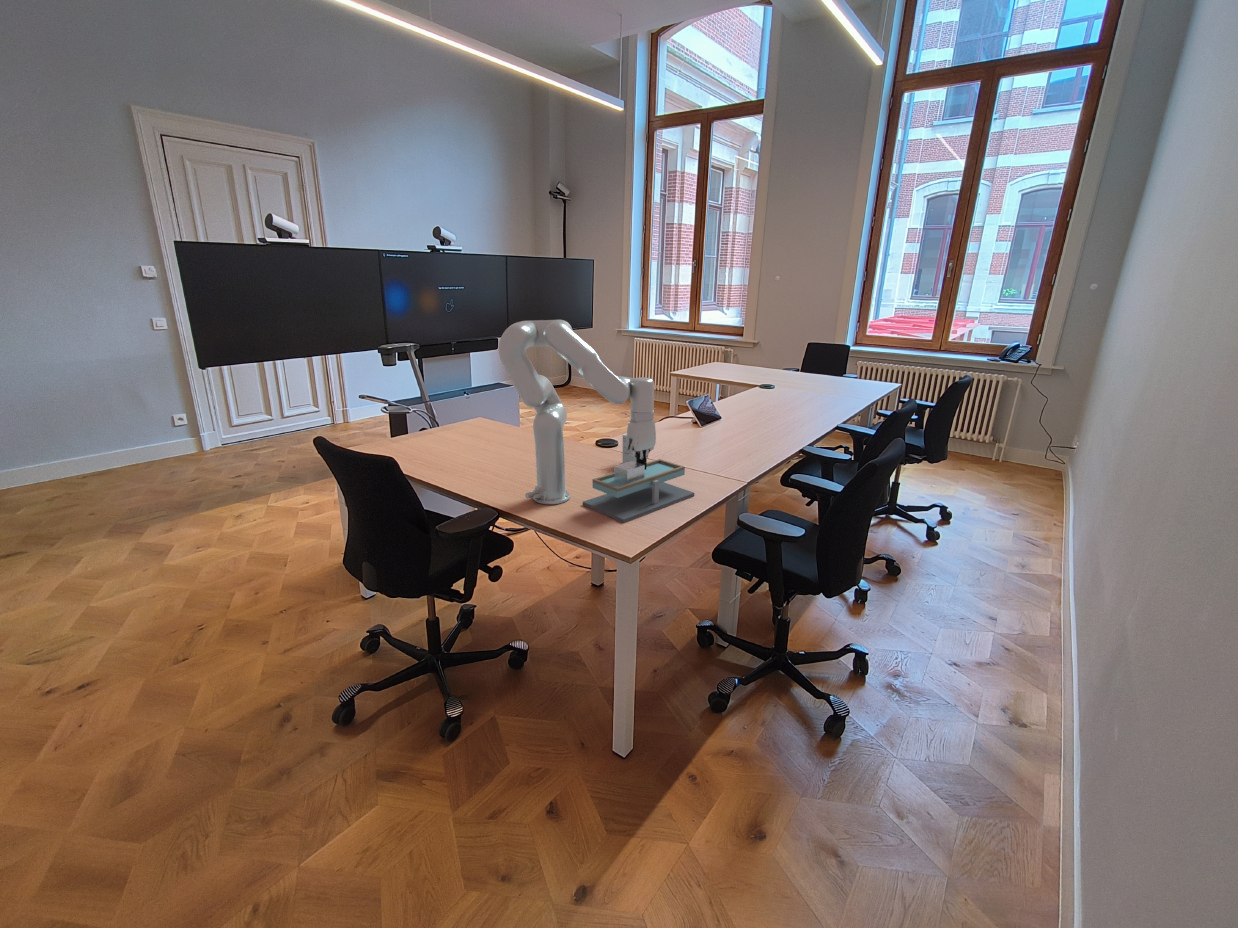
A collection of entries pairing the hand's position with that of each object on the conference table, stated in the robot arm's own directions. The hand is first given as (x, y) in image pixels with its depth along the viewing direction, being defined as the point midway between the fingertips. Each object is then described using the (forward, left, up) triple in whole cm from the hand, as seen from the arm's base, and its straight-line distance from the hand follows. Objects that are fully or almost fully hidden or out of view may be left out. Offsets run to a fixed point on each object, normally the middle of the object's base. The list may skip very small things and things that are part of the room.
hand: (641, 469), depth 188 cm
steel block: (-6, -1, -2) cm, 7 cm away
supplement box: (+26, +30, -12) cm, 42 cm away
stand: (0, 0, -11) cm, 11 cm away
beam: (0, 0, -3) cm, 3 cm away
